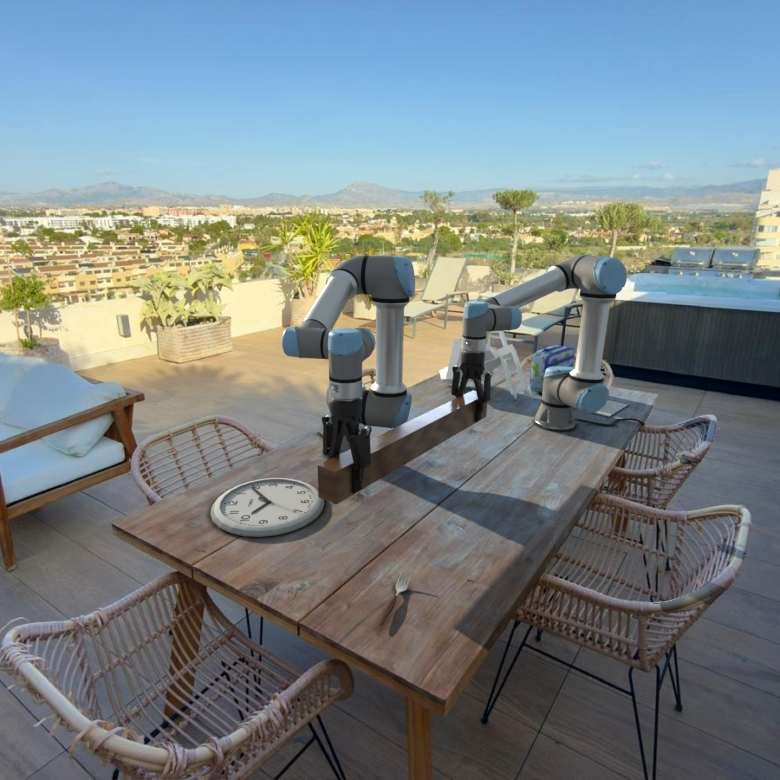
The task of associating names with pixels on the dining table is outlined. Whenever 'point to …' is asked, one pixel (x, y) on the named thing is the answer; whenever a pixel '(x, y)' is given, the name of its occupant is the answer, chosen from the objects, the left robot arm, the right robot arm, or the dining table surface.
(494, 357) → the white plastic object
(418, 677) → the dining table surface
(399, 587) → the fork
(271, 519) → the wall clock
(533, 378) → the lunch box
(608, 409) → the invitation card
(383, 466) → the post
